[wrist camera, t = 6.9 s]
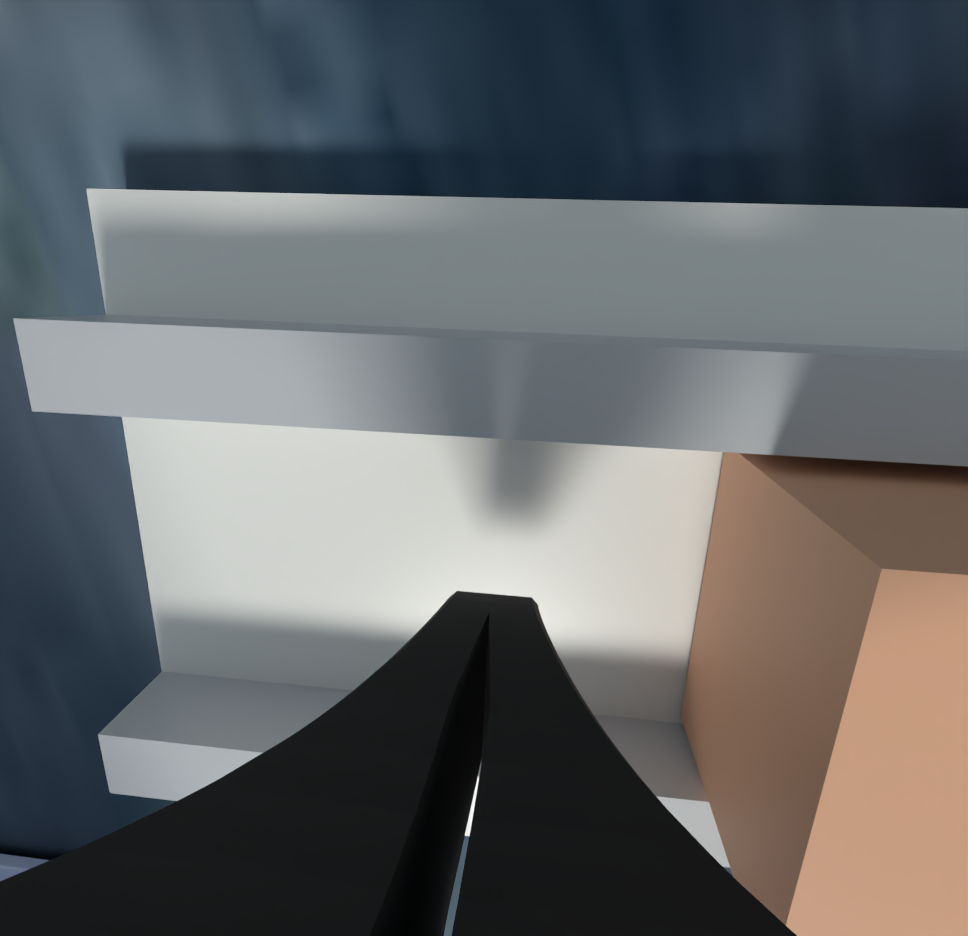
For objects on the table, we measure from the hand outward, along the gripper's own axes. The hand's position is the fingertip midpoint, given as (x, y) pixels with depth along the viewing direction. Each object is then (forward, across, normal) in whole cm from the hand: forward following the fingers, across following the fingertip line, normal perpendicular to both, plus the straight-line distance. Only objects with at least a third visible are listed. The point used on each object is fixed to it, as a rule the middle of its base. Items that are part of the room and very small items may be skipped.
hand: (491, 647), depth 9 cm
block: (+2, -6, 0) cm, 7 cm away
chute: (+3, -2, 0) cm, 4 cm away
